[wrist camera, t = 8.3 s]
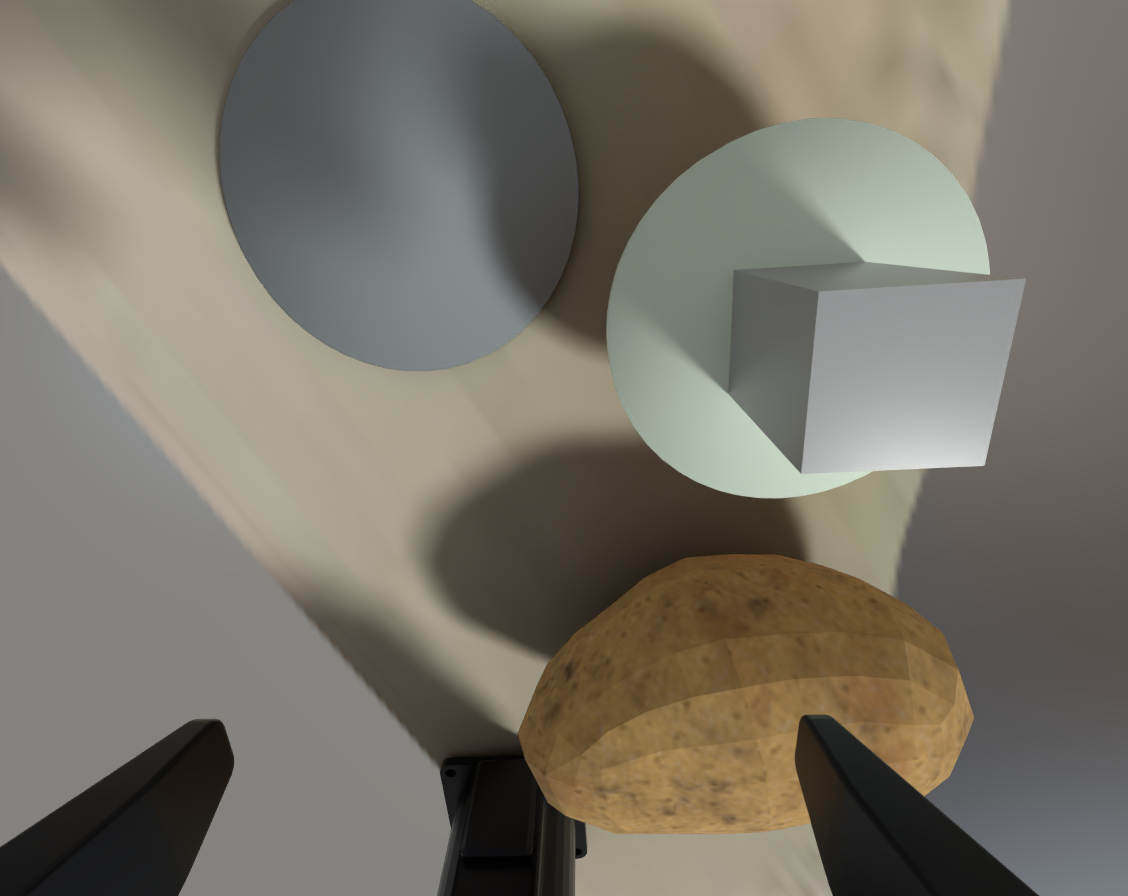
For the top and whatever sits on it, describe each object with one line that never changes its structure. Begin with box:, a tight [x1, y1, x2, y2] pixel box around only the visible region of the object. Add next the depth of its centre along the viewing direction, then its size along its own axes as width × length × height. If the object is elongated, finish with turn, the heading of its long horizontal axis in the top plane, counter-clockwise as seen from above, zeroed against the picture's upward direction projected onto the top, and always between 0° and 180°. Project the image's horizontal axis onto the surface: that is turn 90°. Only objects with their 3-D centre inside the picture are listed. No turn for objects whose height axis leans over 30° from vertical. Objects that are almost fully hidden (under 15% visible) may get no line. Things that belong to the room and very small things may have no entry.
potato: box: [518, 554, 974, 834], centre depth 19 cm, size 10×14×8 cm
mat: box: [219, 0, 579, 371], centre depth 17 cm, size 11×11×1 cm
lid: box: [606, 118, 1026, 498], centre depth 12 cm, size 9×9×6 cm
